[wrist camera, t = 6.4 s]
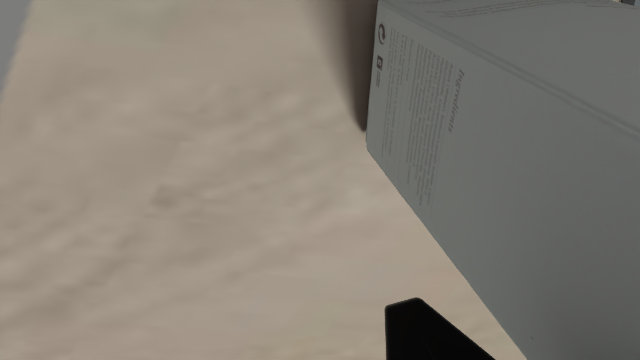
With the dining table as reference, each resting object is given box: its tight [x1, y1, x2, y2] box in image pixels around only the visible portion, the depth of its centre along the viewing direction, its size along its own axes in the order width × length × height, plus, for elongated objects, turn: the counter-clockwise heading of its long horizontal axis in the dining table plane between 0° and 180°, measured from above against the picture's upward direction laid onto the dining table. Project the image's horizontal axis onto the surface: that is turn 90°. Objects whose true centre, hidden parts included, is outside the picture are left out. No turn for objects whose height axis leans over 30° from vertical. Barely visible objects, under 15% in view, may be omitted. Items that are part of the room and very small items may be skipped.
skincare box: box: [366, 0, 640, 360], centre depth 12 cm, size 8×6×15 cm
